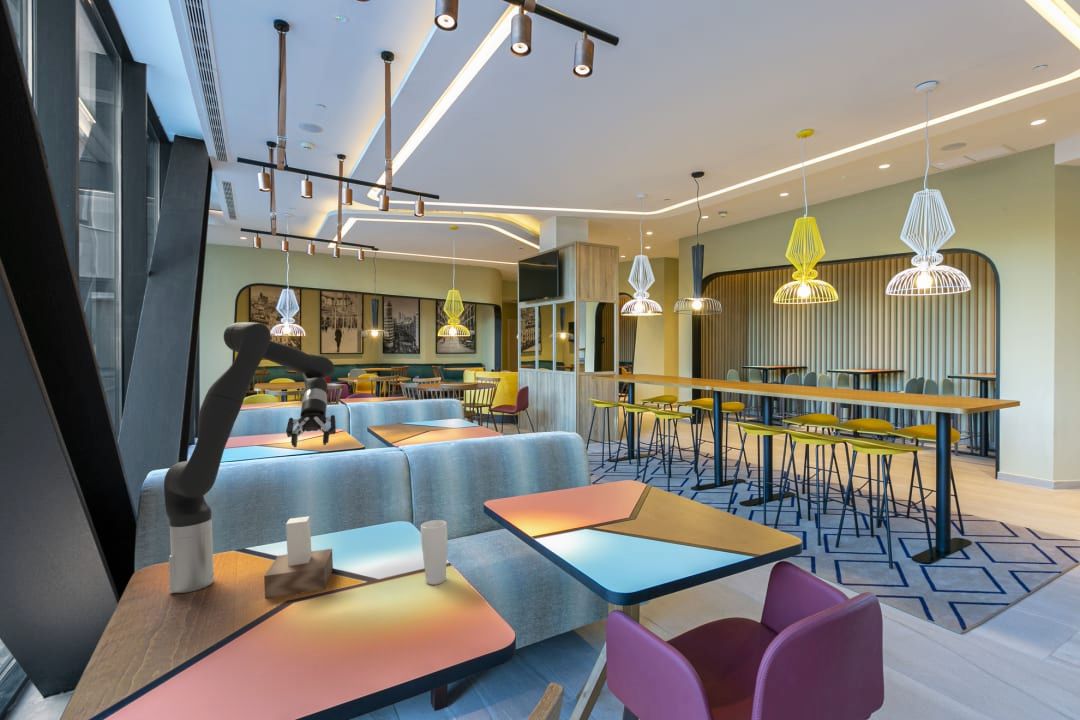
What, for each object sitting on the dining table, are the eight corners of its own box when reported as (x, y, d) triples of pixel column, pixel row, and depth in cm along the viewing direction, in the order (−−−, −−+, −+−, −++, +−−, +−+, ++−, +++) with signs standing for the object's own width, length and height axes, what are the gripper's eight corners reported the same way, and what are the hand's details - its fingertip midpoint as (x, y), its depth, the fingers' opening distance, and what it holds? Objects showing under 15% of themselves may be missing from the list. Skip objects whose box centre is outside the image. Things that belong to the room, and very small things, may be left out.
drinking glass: (443, 587, 126) (440, 528, 127) (418, 586, 128) (416, 527, 128) (453, 576, 133) (450, 520, 133) (429, 575, 134) (427, 519, 134)
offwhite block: (287, 566, 130) (285, 524, 131) (291, 559, 135) (289, 518, 135) (308, 562, 132) (306, 521, 132) (311, 556, 137) (309, 516, 137)
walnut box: (265, 599, 125) (264, 575, 125) (278, 577, 138) (278, 555, 138) (325, 590, 128) (324, 567, 128) (332, 569, 142) (332, 548, 142)
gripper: (288, 399, 162) (282, 439, 151) (335, 396, 166) (332, 435, 154) (292, 414, 167) (286, 453, 156) (338, 411, 171) (335, 449, 159)
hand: (309, 444), depth 155 cm, fingers open, 8 cm apart
